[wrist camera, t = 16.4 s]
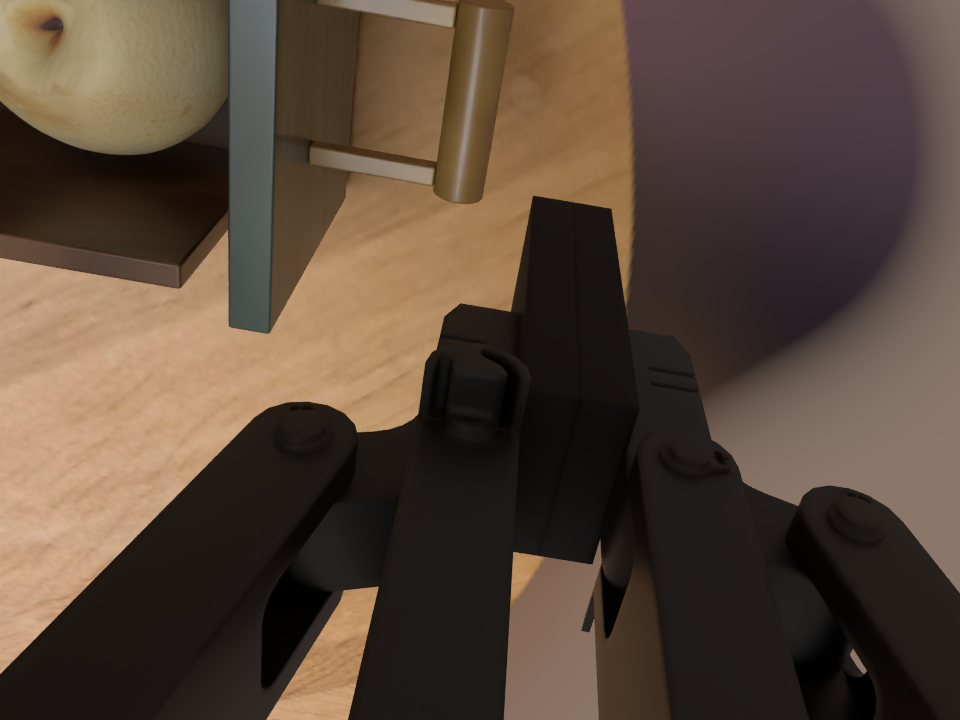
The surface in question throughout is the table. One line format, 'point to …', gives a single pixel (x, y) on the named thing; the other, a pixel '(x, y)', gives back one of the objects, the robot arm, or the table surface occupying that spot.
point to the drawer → (251, 157)
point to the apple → (114, 69)
